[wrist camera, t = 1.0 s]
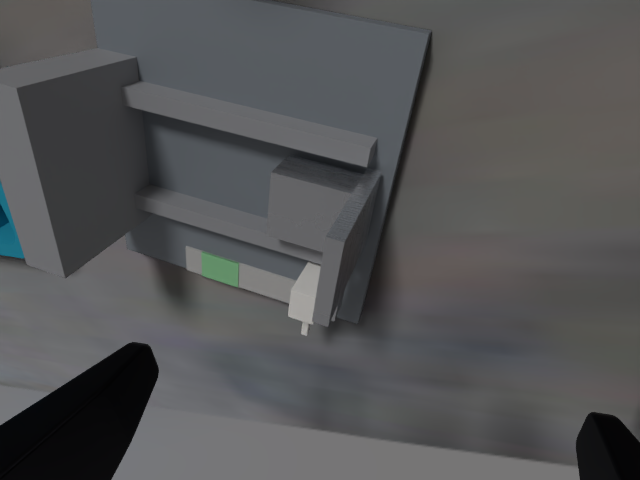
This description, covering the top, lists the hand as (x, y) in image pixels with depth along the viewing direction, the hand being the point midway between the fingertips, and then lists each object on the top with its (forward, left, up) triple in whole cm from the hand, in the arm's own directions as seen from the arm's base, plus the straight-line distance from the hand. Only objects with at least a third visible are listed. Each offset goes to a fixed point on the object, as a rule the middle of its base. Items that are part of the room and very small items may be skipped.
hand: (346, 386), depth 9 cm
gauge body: (+8, +2, -12) cm, 14 cm away
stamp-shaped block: (+3, +7, -11) cm, 13 cm away
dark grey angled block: (+3, +3, -11) cm, 12 cm away
